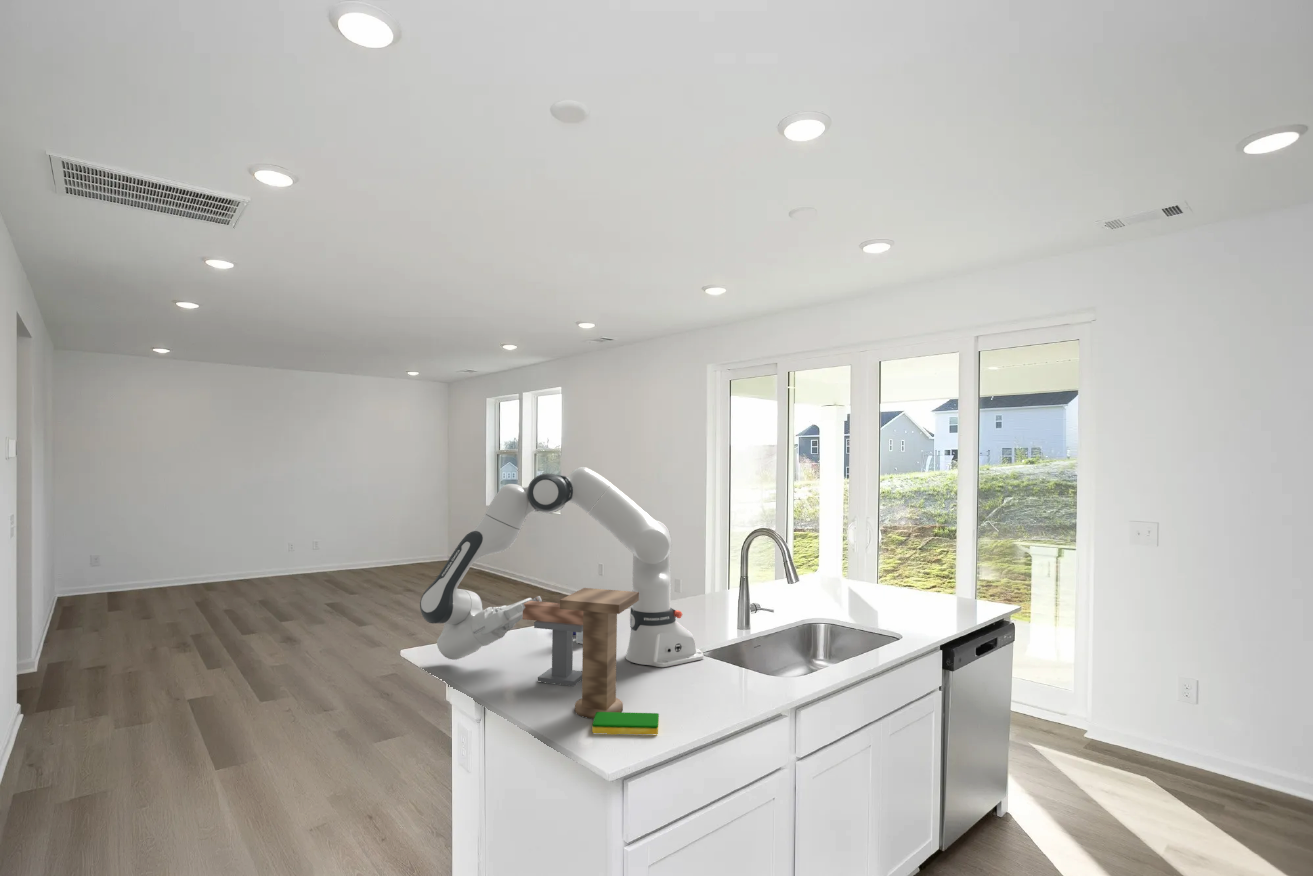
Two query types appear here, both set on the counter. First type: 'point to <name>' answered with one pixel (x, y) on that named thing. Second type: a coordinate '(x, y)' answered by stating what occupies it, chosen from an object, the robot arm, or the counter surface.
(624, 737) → the counter surface
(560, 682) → the low stand
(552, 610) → the block
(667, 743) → the counter surface
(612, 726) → the dish sponge
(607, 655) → the walnut pedestal
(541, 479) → the robot arm
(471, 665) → the counter surface
